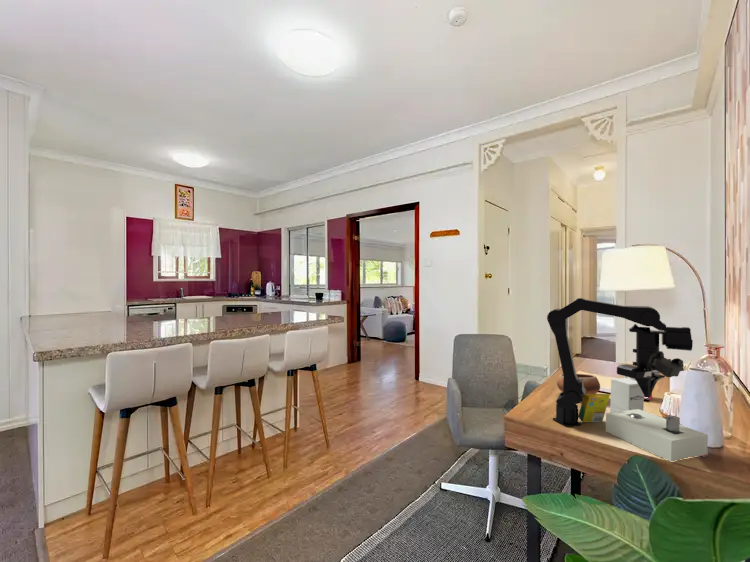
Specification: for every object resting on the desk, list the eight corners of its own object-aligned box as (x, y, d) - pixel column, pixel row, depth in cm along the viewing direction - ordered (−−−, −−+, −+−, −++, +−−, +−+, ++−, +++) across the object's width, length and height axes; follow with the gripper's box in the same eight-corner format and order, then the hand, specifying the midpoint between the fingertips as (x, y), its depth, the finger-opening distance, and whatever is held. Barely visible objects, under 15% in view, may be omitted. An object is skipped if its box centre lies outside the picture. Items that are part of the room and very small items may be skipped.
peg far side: (674, 439, 102) (674, 419, 101) (663, 435, 104) (663, 415, 104) (681, 438, 102) (682, 418, 102) (670, 433, 105) (671, 414, 105)
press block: (671, 462, 97) (671, 440, 97) (605, 431, 116) (606, 413, 116) (707, 455, 101) (707, 434, 101) (638, 426, 120) (638, 409, 120)
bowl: (577, 389, 159) (578, 367, 158) (609, 402, 144) (609, 377, 143) (548, 392, 155) (548, 369, 154) (577, 405, 139) (578, 380, 139)
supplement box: (628, 419, 126) (629, 384, 126) (609, 411, 133) (610, 378, 133) (644, 417, 128) (645, 382, 128) (624, 410, 135) (625, 377, 135)
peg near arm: (636, 435, 112) (636, 417, 112) (627, 431, 115) (627, 413, 115) (643, 434, 113) (644, 416, 113) (634, 430, 116) (634, 412, 116)
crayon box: (597, 416, 126) (605, 389, 122) (602, 422, 123) (611, 394, 120) (577, 416, 126) (584, 389, 122) (582, 422, 123) (590, 394, 119)
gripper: (652, 354, 100) (652, 409, 100) (698, 350, 105) (698, 402, 106) (615, 347, 111) (615, 396, 111) (659, 343, 116) (658, 391, 116)
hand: (647, 396), depth 111 cm, fingers closed
